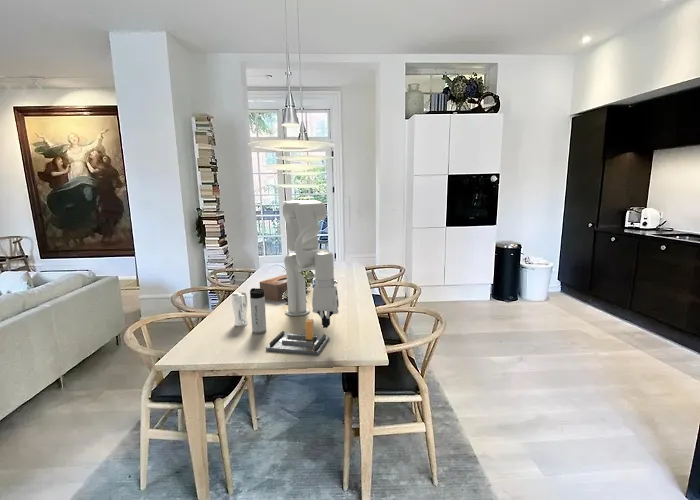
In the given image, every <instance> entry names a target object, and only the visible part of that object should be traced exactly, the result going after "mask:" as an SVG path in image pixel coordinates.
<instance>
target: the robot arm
mask: <svg viewBox="0 0 700 500" xmlns="http://www.w3.org/2000/svg"><path fill="white" fill-rule="evenodd" d="M327 209H328V208H327V207H326V205H325V203H324V202H323V201H320V200H289V201H286V202H284V203H283V205H282V215H283V217H284V221H285V224H286V245H287V249H288V250H289V251H291V252H294V253H289V254H287V255H286V256H284V260H283V261H284V268H285V275H287V293H288V298H287V309H285V311H284V312H285V314H286V315H287V316H290V317H291V316H292V317H299V316H305V315H308V314H309V313H310V308H309V307H307V304H308V301H307V291H306V284H305V278H304V276H305V275H303V274H302V273H301V272H305V271H314V280H315V286H314V288H312V289H313V290H312V299H311V306H312V313H314V314H317V315H318V316H319V317H320V319H321V325H322V328H323V329H328V328H329V326H330V324H331V316H333V315H336V314H337V315H338V313H340V312H339V306H340V304H339V303H340V302H339V294H338V293H339V292H338V288H337V284H338V282H339V281H338V280H336V279H335V270H334V269H335V268H334V266H335V265H334V264H335V263H334V254H333V253H332V252H330V250H329V249H327V248H319V237H318V235H319V233H320V232H321V231H320V228H321V227H320V226H319V222H318V221H324V220H325V219H326V218H327V216H328V210H327Z"/></svg>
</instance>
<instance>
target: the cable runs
mask: <svg viewBox="0 0 700 500" xmlns="http://www.w3.org/2000/svg"><path fill="white" fill-rule="evenodd" d="M284 333H285V331H284V330H282V331H281V332H280V333H278V334H277V336H275V337H274V338H273V339H272V340H271V341H270V342H269V344H270V346H272V345H273V344H274V343H275V342H276V341H277V340H278V339H279V338H280V337H281V336H282V335H283V334H284ZM326 336H327V334H325V333H324V334H323V336H322V337H321V338H320V340H319V341H318V343H317V344H316V345H315V347H314V349H315V350H316V349H317V348H318V347H319V346H320V344H321V343H322V341H323V340H324V339H325V337H326Z"/></svg>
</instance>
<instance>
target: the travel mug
mask: <svg viewBox="0 0 700 500" xmlns="http://www.w3.org/2000/svg"><path fill="white" fill-rule="evenodd" d="M249 295H250V297H249V300H250V303H249V304H250V316H251V318H250V319H251V331H252V334H254V335H262V334H264V333H266V332H267V319H266V318H267V316H266V299H265V298H264V290H263V289H260V287H259V288H258V287H256V288H255V287H252V288H250V290H249Z"/></svg>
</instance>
